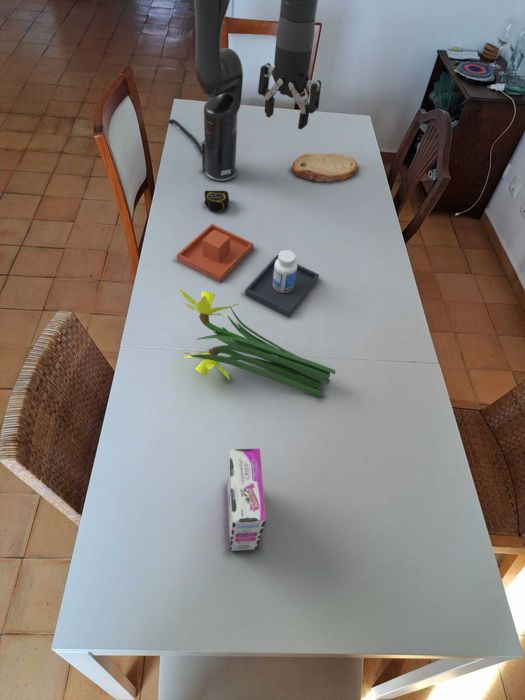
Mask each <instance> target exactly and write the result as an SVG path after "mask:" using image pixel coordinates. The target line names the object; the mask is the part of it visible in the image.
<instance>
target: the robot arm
mask: <svg viewBox="0 0 525 700" xmlns="http://www.w3.org/2000/svg"><path fill="white" fill-rule="evenodd" d="M193 2H194V3H193V6H194V22H195V23H194V24H195V75H196V79H197V84H198V86H199V87H200V90H201V91H202V93H203V94H204V95H205V96H207V97H209V98H208V99H207V101H206V102H205V104H204V106H203V131H204V140H203V141H202V142H201V145H200V143H199V142H198V140H197V139H196V138H195V137H194V136H193V135H192V134H191V133H190V132H189V131H187V129H185V127H183V125H181V124H180V123H179V122H178V121H177V120H176V119H174V118H173V119H169V120H168V123H169V124H175V125H176V126H177V127H178V128H179V129H180V130H181V131H182V132H183V133H184V134H185V135H186V136H187V137H189V139H191V141H192V142H193V143H194V145H195V146H196V148H197V149H198V151H199V153H200V155H201V156H202V157H201V160H202V161H201V164H202V173H204V174H205V176H206V177H207V178H208V179H210V180H211V181H216V182H228V181H231V180H232V179H233V178H235V177H236V174H237V168H236V166H237V141H238V139H237V137H238V113H239V110H240V109H241V104H242V95H243V84H244V83H243V81H244V71H243V65H242V61H241V59H240V56H239V55H238V54H237V52H236V51H235V50H233V49H232V48H229V47H225V48H221V36H222V29H223V24H224V21H225V18H226V15H227V11H228V9H229V6H230V2H231V0H193ZM318 2H319V0H280V9H279V17H278V22H277V28H276V34H275V49H274V59H273V61H274V62H273V65H274V66H272V64H271V63H270V62H267V63H265V64H263V65H262V66H261V67H260V69H259V70H260V71H259V77H258V86H257V87H258V89H257V94H258V95H259V96H263V98H264V99H265V102H264V113H265V116H266V118H271V117H272V116H273V114H274V110H275V100H276V99H275V96H276V94H278V92H279V93H280V95H283V96H287V97H288V98H290V99H294V101H295V103H296V105H298V108H299V110H300V112H299V117H298V118H299V119H298V125H297V129H298V130H303V129H304V128H306V126H308V122H309V118H310V117H309V116H310V114H314V113H315V112H316V111H317V110H318V109H319V107H320V98H321V88H322V81H321V80H319V79H318V80H315V81H314V80H311V79H310V78H309V73H310V68H311V67H310V66H311V60H312V54H313V48H314V47H313V46H314V40H315V32H316V16H317V10H318V4H319V3H318ZM271 76H272V79H273V81H274V84H273V85H272V87H270V88H269V84H270V77H271ZM306 88H308V92H307V89H306ZM308 93H309V95H308Z"/></svg>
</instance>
